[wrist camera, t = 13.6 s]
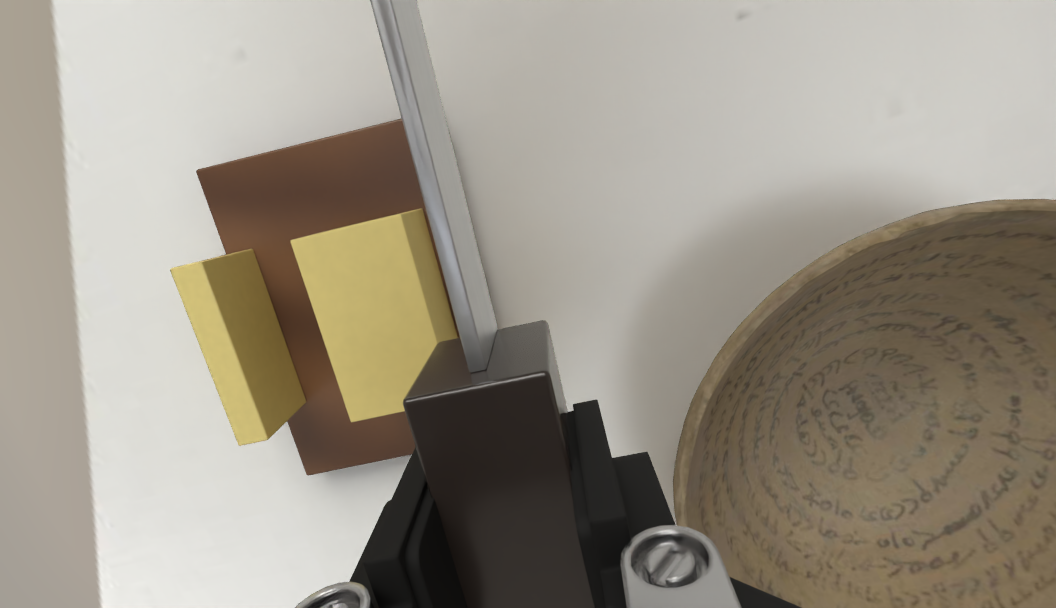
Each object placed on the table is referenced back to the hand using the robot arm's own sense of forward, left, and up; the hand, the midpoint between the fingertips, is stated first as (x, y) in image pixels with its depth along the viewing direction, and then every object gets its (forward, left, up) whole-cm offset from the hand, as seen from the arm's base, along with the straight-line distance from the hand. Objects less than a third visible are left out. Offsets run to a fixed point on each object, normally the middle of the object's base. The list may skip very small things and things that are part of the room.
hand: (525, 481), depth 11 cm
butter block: (-2, -5, -11) cm, 13 cm away
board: (-2, -7, -13) cm, 14 cm away
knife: (-4, 0, -1) cm, 4 cm away
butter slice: (-2, -11, -11) cm, 16 cm away
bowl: (+7, +13, -13) cm, 19 cm away
